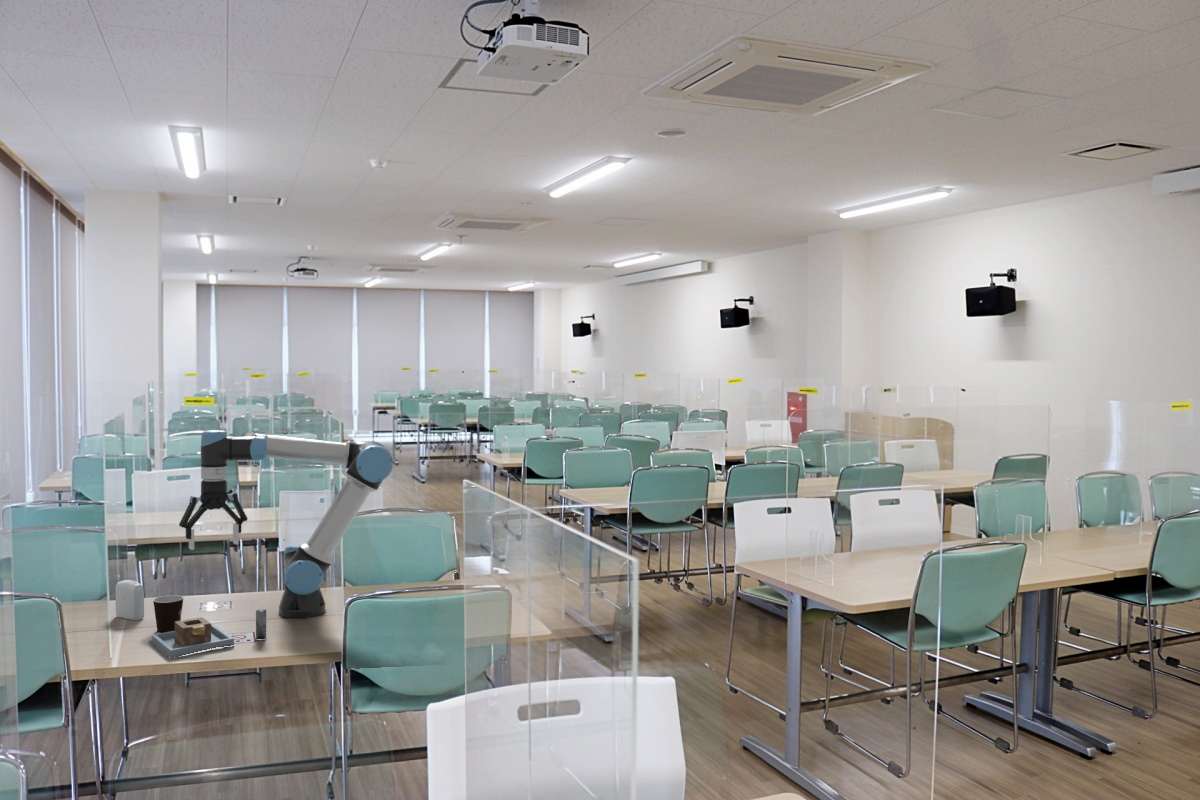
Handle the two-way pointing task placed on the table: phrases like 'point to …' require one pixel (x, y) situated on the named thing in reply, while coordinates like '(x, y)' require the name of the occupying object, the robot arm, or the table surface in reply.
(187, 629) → the collar
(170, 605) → the coffee mug
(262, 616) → the post
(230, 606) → the table surface
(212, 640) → the tray
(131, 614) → the photo printer
